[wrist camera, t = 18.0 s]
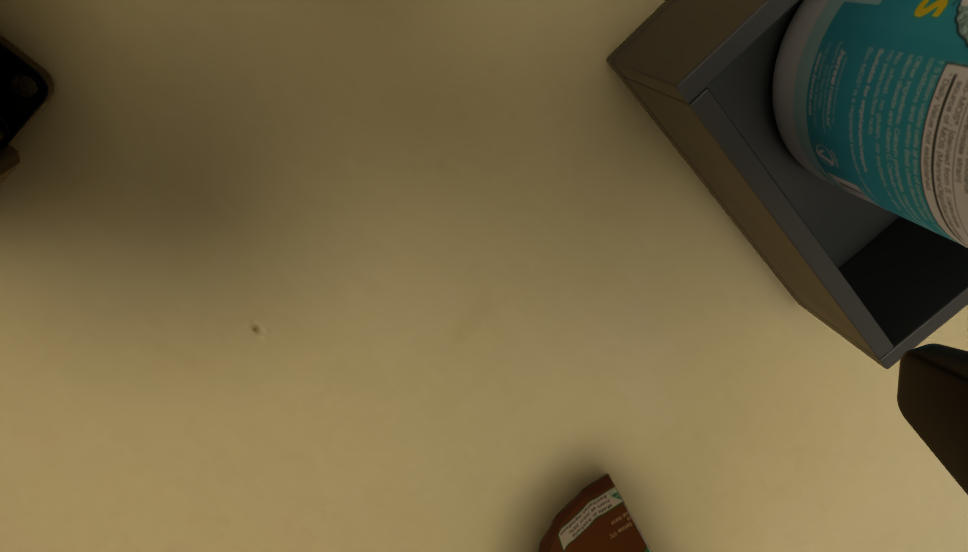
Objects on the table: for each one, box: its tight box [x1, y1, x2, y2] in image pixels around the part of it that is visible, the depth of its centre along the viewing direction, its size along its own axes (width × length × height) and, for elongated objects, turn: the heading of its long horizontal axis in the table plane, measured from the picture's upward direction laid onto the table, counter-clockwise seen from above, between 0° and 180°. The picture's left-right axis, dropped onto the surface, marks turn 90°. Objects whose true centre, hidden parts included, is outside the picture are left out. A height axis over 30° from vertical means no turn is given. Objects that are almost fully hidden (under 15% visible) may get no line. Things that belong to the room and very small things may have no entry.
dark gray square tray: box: [607, 0, 968, 369], centre depth 20 cm, size 12×12×4 cm
